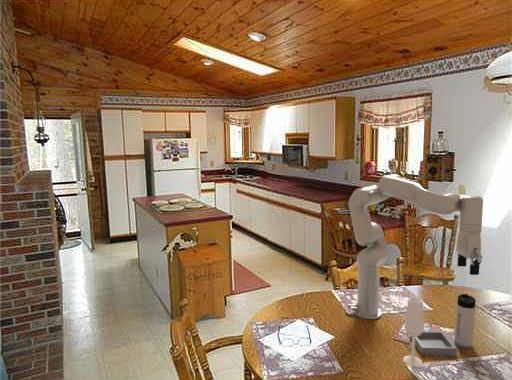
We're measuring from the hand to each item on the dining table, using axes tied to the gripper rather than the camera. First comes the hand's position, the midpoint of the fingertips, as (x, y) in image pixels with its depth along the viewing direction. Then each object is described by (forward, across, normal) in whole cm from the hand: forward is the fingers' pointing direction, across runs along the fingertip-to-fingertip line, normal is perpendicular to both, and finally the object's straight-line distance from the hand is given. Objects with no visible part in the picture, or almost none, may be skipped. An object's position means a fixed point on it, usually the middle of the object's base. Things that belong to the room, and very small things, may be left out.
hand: (467, 270), depth 151 cm
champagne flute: (+31, +13, -25) cm, 41 cm away
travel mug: (+31, 0, 0) cm, 31 cm away
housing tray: (+31, +2, -13) cm, 33 cm away
